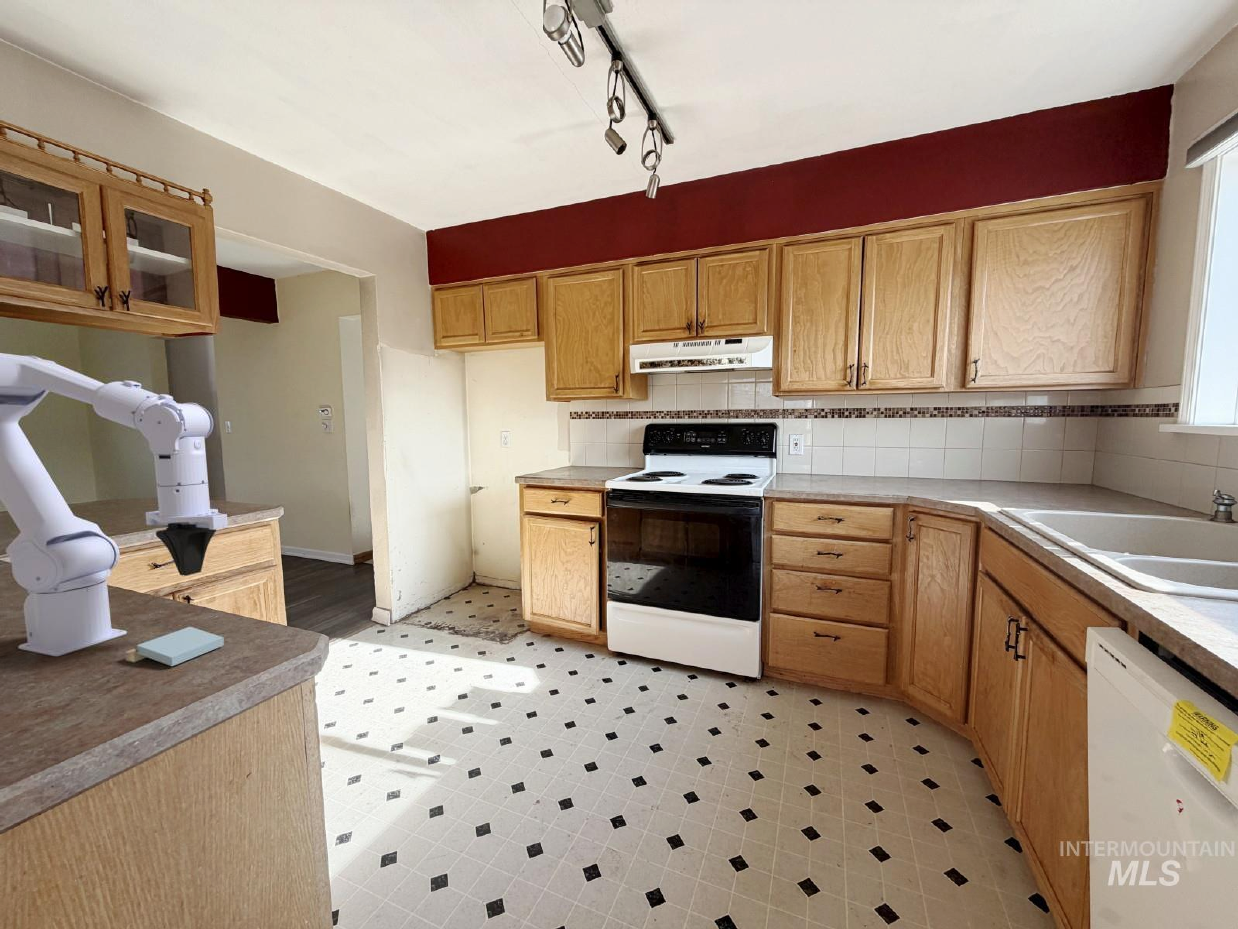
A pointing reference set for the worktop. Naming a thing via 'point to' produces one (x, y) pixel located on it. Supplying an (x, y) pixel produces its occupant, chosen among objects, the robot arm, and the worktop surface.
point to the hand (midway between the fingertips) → (190, 573)
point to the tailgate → (180, 646)
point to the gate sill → (133, 656)
